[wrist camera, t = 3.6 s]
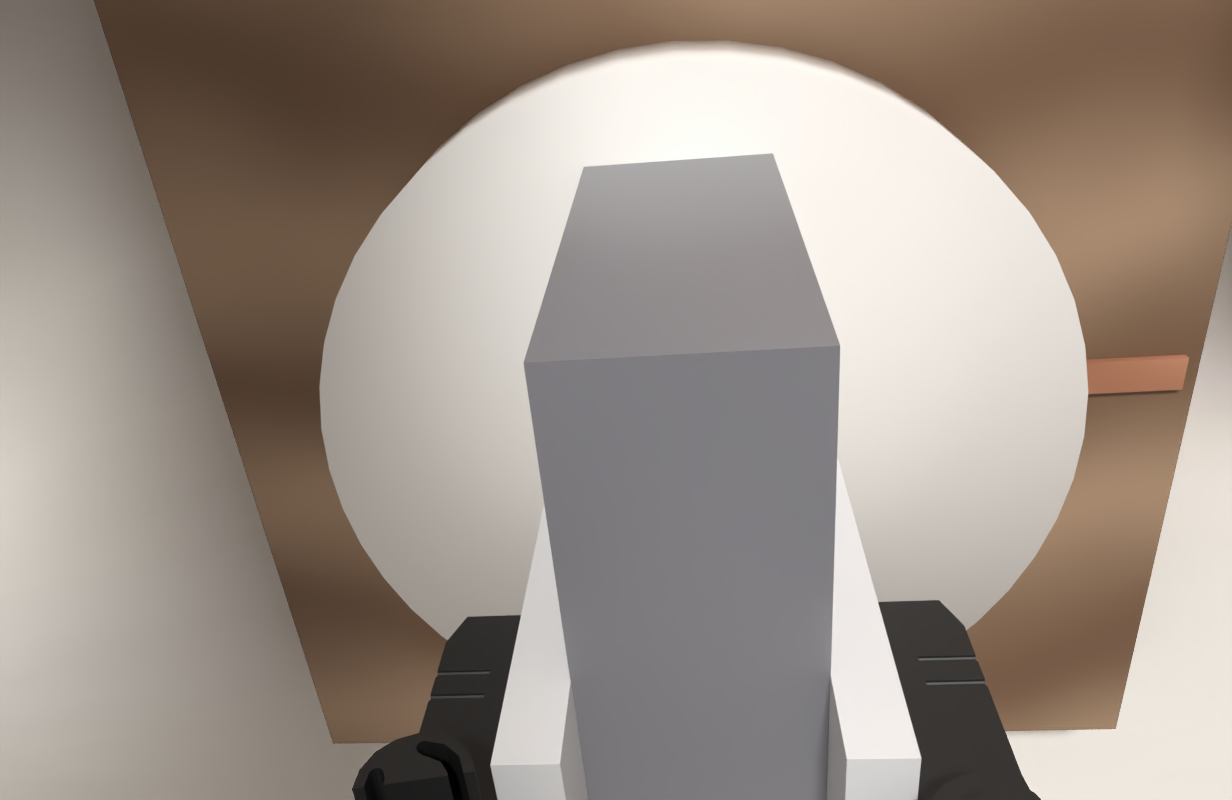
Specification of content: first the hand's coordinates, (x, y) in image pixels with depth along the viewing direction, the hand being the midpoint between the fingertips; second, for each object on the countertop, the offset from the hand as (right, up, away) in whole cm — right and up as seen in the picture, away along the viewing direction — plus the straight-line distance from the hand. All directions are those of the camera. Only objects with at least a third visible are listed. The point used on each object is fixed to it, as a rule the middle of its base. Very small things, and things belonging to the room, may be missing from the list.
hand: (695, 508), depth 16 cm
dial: (0, +2, +3) cm, 4 cm away
